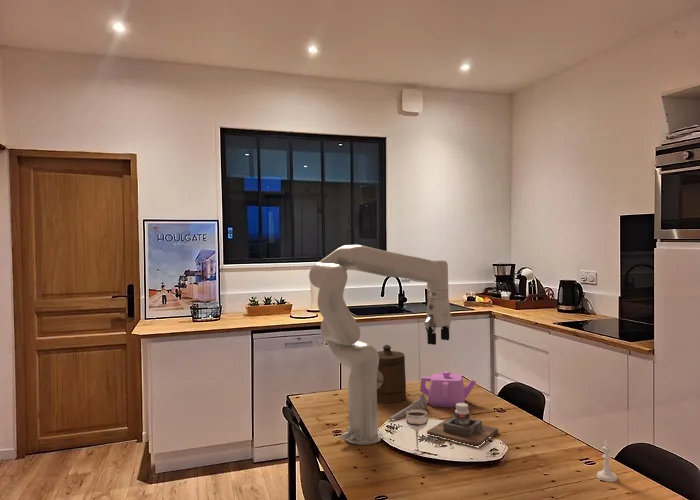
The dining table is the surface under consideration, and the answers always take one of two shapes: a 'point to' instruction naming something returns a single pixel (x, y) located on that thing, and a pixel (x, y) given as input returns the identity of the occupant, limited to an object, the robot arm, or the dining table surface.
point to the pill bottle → (462, 415)
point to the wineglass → (416, 420)
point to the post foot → (464, 431)
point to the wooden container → (391, 376)
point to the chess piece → (606, 466)
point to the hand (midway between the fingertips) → (438, 341)
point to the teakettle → (446, 389)
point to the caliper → (412, 407)
